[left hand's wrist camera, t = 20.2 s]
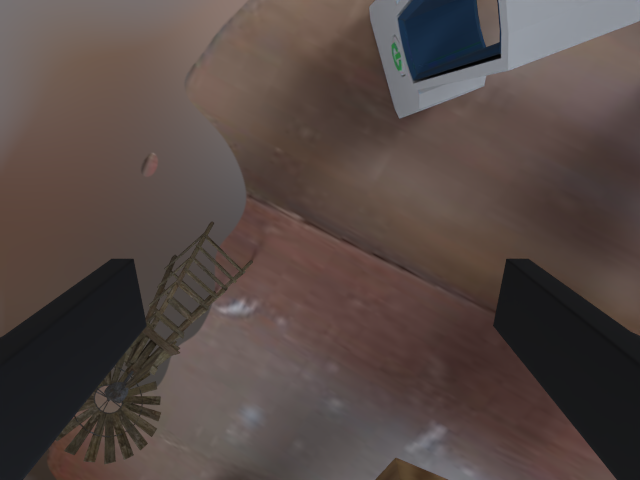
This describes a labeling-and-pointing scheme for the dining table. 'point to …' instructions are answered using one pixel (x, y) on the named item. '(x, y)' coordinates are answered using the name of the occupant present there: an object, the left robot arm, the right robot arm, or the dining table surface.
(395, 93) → the electronic device
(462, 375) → the dining table surface
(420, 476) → the box
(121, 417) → the miniature windmill
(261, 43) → the dining table surface
